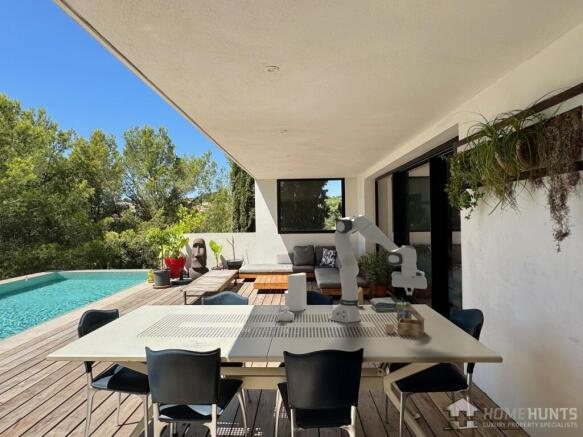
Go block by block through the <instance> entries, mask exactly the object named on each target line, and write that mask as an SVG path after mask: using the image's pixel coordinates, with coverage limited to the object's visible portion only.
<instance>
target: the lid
mask: <svg viewBox="0 0 583 437" xmlns="http://www.w3.org/2000/svg"><path fill="white" fill-rule="evenodd" d="M408 302H409V301H407V303H406V304H405V307H406V308H407V309H408V311H409V312H410V313H411V314H412V317H414V318H415V320H418V321H419V322H420V323H421V324H423V323H424V324H425V320H426V319H425V318H424V317H423V316H422V315H421V313H419V312H418V310H416V309H415V308H414V307H413V305H412V304H411V303H410V302H409V303H410V304H411V305H410V304H409V303H408Z"/></svg>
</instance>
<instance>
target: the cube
mask: <svg viewBox="0 0 583 437" xmlns="http://www.w3.org/2000/svg"><path fill="white" fill-rule="evenodd" d="M384 325H385V333H387V334H394V333H395V322H389V321H386V322H385V324H384Z"/></svg>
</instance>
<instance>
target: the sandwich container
mask: <svg viewBox="0 0 583 437" xmlns="http://www.w3.org/2000/svg"><path fill="white" fill-rule="evenodd" d="M358 299H359V305H363V306H359V308H363V307H364V289H363V288H362V287H361V286H359V287H358Z"/></svg>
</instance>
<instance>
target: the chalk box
mask: <svg viewBox="0 0 583 437" xmlns="http://www.w3.org/2000/svg"><path fill="white" fill-rule="evenodd" d="M400 299H401V301H395V303H396V305H397V311H396V319H397V322H398V321H399V319H400V318H404V319H412V317H413V315H412V314H411V313H410V312H409V311H408V309H407V308H406V307H405V304H406V303H407V302H408V303H409V304H410V305H411V306H412V304H411V303H410V302H409V301H407V302H404V300H403V297H401V298H400Z"/></svg>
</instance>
